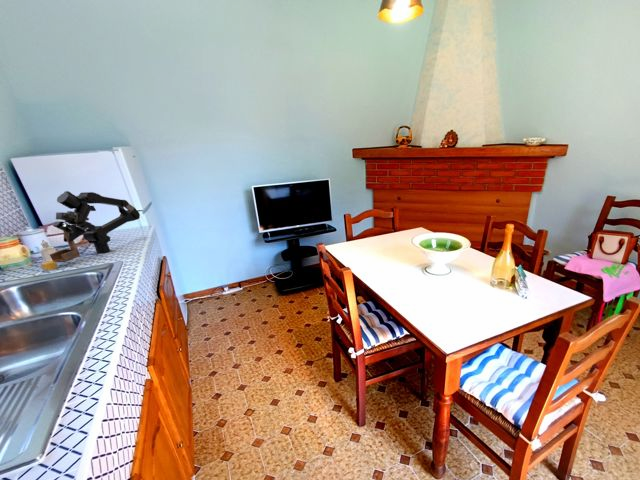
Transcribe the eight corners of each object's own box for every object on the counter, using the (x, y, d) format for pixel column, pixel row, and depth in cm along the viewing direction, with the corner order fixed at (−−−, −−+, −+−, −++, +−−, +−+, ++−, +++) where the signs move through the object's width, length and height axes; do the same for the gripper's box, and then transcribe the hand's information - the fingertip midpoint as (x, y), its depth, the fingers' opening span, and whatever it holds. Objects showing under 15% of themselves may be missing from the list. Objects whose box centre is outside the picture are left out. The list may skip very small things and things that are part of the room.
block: (39, 263, 139) (43, 271, 141) (45, 264, 138) (48, 272, 140) (50, 260, 143) (53, 268, 144) (55, 261, 142) (58, 269, 143)
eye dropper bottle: (60, 262, 153) (50, 239, 148) (45, 265, 149) (34, 242, 145) (60, 259, 156) (50, 238, 151) (45, 263, 152) (35, 240, 148)
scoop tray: (73, 253, 151) (63, 231, 146) (85, 254, 150) (74, 231, 145) (53, 261, 143) (41, 238, 138) (65, 262, 141) (53, 238, 136)
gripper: (48, 205, 145) (33, 233, 139) (80, 204, 142) (65, 233, 136) (71, 217, 155) (58, 244, 149) (101, 217, 152) (89, 244, 146)
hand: (67, 241), depth 145 cm, fingers closed on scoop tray, 2 cm apart
